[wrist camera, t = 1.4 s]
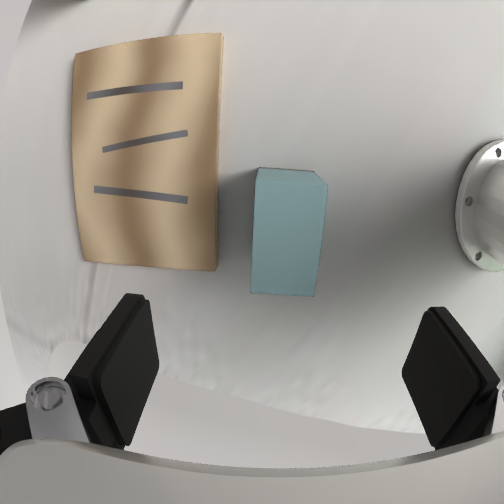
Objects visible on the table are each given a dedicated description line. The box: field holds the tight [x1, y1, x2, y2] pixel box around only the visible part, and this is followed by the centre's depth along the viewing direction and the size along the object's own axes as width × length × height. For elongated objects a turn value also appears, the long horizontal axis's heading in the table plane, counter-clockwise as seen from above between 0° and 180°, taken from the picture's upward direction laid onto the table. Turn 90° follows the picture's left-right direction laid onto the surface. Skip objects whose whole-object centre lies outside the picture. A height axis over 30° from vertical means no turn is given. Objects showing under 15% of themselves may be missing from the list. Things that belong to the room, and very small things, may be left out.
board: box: [72, 33, 224, 272], centre depth 21 cm, size 12×18×1 cm, turn 178°
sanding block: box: [250, 167, 328, 297], centre depth 21 cm, size 7×4×6 cm, turn 178°
